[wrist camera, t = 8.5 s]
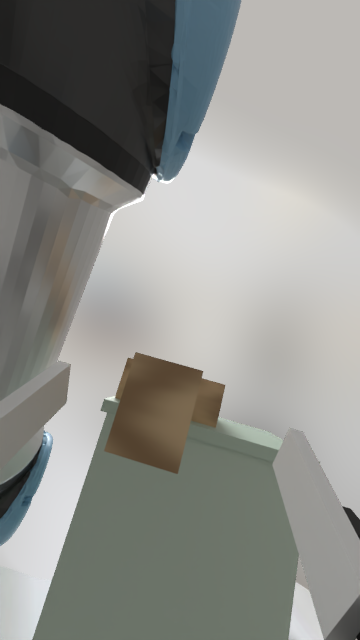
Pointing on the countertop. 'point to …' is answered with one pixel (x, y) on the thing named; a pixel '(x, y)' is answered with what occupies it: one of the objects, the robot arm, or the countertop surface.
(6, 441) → the robot arm
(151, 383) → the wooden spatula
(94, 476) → the sage green shelf box
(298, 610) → the countertop surface
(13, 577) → the countertop surface
